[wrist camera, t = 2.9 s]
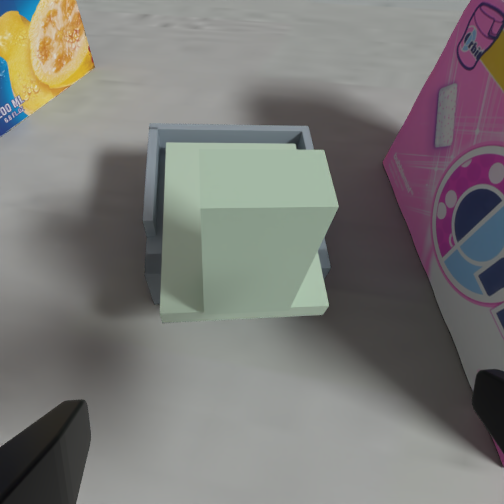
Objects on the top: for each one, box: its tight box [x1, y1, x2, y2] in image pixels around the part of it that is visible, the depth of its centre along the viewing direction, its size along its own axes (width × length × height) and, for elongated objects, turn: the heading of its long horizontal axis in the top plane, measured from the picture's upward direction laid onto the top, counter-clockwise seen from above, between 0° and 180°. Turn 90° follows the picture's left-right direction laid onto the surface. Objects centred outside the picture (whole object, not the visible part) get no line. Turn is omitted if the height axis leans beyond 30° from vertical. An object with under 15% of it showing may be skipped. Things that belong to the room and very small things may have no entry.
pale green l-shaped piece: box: [160, 142, 339, 323], centre depth 17 cm, size 11×8×9 cm
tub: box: [143, 123, 331, 304], centre depth 23 cm, size 10×10×6 cm
